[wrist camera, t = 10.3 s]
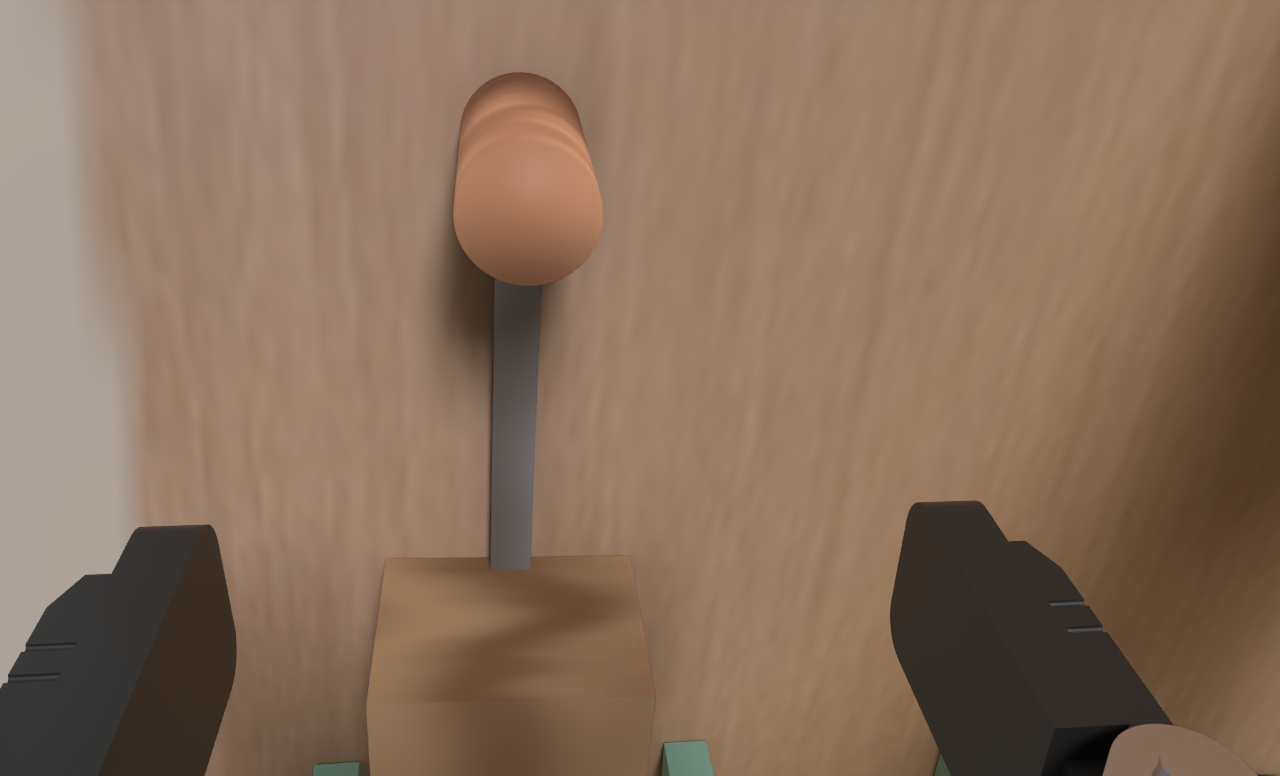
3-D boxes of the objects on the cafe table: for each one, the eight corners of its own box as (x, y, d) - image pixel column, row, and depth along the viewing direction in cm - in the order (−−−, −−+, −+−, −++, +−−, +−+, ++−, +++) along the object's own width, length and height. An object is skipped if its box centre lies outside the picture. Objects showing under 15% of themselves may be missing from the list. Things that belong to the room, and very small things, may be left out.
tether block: (675, 80, 26) (720, 152, 21) (615, 706, 37) (636, 858, 31) (363, 64, 25) (331, 134, 20) (392, 714, 36) (376, 872, 30)
